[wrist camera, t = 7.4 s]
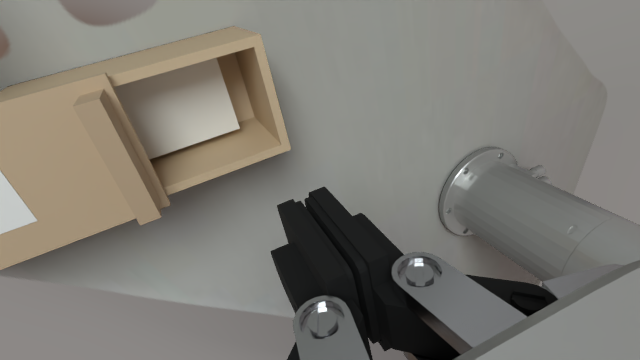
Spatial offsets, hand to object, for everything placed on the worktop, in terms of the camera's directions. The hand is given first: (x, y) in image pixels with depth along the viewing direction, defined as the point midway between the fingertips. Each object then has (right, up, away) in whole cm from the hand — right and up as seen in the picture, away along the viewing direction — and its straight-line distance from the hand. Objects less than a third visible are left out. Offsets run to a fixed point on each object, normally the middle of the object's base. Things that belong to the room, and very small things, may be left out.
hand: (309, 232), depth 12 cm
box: (-13, +8, +17) cm, 22 cm away
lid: (-18, +1, +8) cm, 19 cm away
